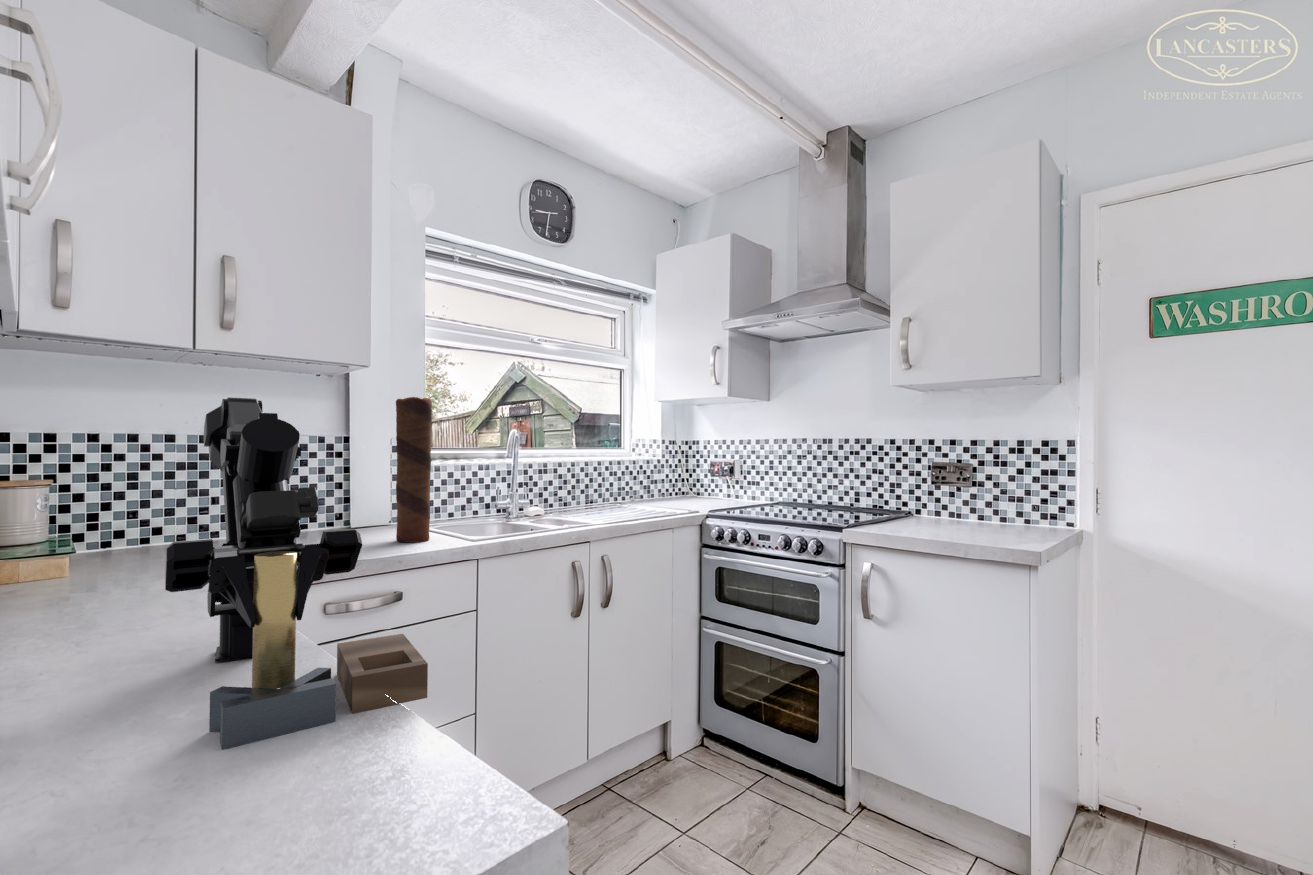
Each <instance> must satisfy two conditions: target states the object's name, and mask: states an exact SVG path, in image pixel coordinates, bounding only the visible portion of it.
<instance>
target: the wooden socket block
mask: <svg viewBox="0 0 1313 875" xmlns="http://www.w3.org/2000/svg"><path fill="white" fill-rule="evenodd" d="M336 646H337V647H336V657H337V658H336V677H337V678H338V681H339V683H340V686H341V689H342V692H343V694H344V696H345V699H346V702H347V705H348V707H349V709H350V711H351V712H350V713H351V714H357V713H362V712H366V711H371V710H376V709H380V708H384V707H385V708H386V707H390V706H394V705H399V704H404V703H408V702H413V701H415V702H416V701H417V700H423V699H427V698H428V684H429V683H428V679H429V678H428V674H429V673H428V671H429V670H428V668H429V667H428V662H427V661H426V660H425V658H424V657H423V656H422V655H421V653H419V651H418V650H417V648H415V646H414V645H413V644H412V643H411V641H410V640H409V639H408V638H407V637H406V635H405V634H404V633H397V634H392V635H385V636H377V637H372V638H364V639H358V640H351V641H345V642H338V643H337V645H336ZM385 694H386V695H388V696H389V697H387V696H386V695H385ZM390 697H391V699H392V700H394V701H396V702H397V703H398V704H396V703H395V702H393V701H392V700H391V699H390Z"/></svg>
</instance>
